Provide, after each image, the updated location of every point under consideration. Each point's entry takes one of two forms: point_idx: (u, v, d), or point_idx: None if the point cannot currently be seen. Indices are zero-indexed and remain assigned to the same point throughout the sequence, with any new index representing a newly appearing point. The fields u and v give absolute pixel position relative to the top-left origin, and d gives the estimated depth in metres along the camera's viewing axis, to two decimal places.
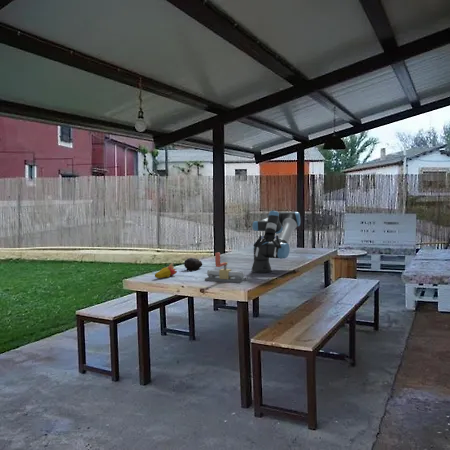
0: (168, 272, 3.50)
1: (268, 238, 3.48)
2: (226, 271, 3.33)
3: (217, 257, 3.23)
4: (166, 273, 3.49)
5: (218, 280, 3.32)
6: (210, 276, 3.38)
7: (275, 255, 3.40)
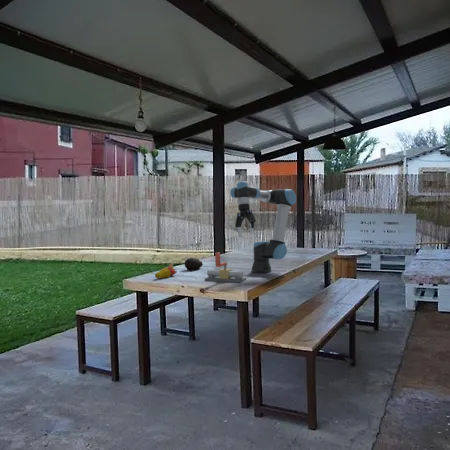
0: (168, 272, 3.50)
1: (243, 215, 3.32)
2: (226, 271, 3.33)
3: (217, 257, 3.23)
4: (166, 273, 3.49)
5: (218, 280, 3.32)
6: (210, 276, 3.38)
7: (252, 231, 3.25)
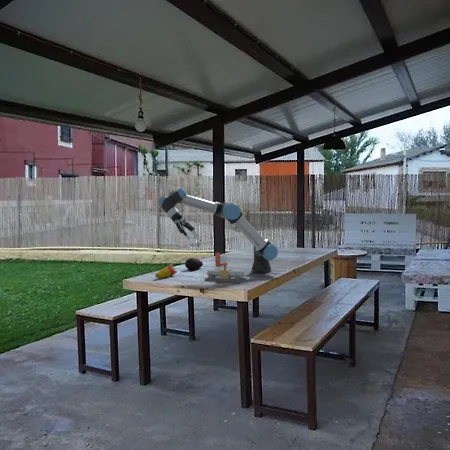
0: (168, 272, 3.50)
1: None
2: (226, 271, 3.33)
3: (217, 257, 3.23)
4: (166, 273, 3.49)
5: (218, 280, 3.32)
6: (210, 276, 3.38)
7: (189, 237, 3.23)
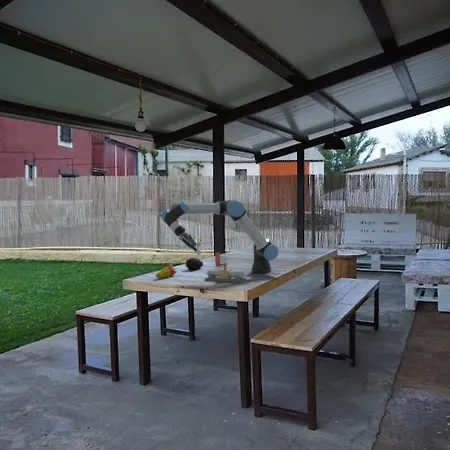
0: (169, 272, 3.50)
1: None
2: (226, 271, 3.33)
3: (217, 257, 3.23)
4: (167, 273, 3.49)
5: (218, 280, 3.32)
6: (210, 276, 3.38)
7: (198, 252, 3.27)
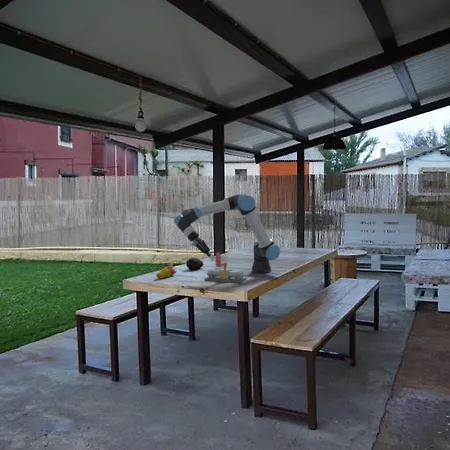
0: (169, 272, 3.50)
1: None
2: (226, 271, 3.33)
3: (217, 257, 3.23)
4: (167, 273, 3.49)
5: (218, 280, 3.32)
6: (210, 276, 3.38)
7: (212, 258, 3.24)
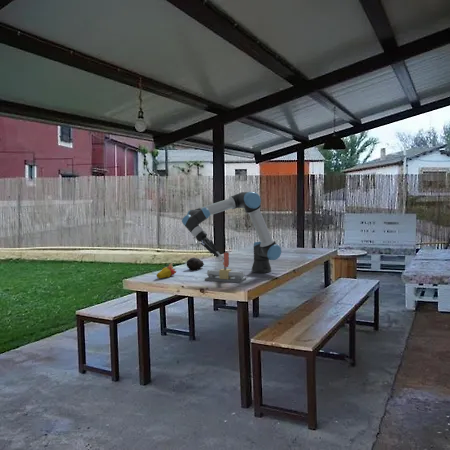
0: (169, 272, 3.50)
1: None
2: (226, 271, 3.33)
3: (227, 257, 3.22)
4: (167, 273, 3.49)
5: (218, 280, 3.32)
6: (210, 276, 3.38)
7: (221, 258, 3.23)
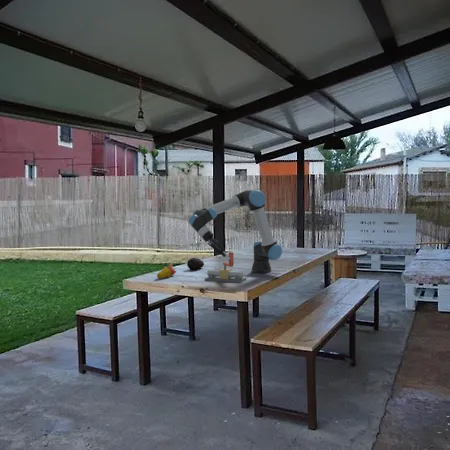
0: (169, 272, 3.50)
1: None
2: (226, 271, 3.33)
3: (232, 257, 3.23)
4: (167, 273, 3.49)
5: (218, 280, 3.32)
6: (210, 276, 3.38)
7: (227, 258, 3.22)
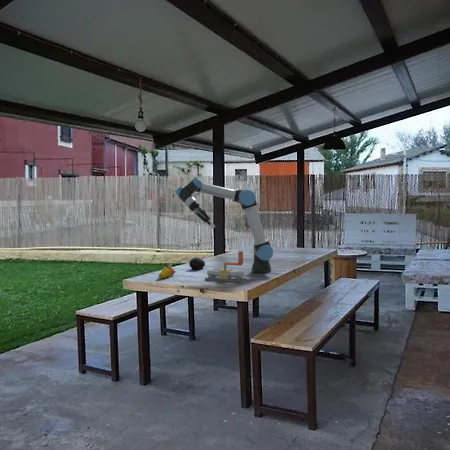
0: (170, 272, 3.50)
1: None
2: (226, 271, 3.33)
3: (242, 255, 3.30)
4: (168, 273, 3.49)
5: (218, 280, 3.32)
6: (210, 276, 3.38)
7: (212, 226, 3.44)
